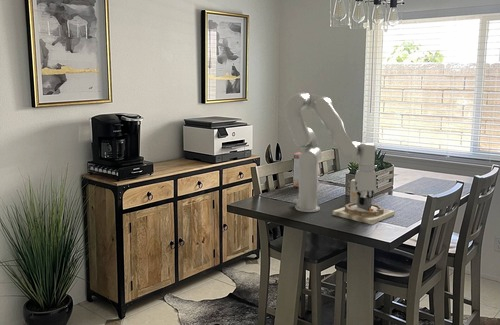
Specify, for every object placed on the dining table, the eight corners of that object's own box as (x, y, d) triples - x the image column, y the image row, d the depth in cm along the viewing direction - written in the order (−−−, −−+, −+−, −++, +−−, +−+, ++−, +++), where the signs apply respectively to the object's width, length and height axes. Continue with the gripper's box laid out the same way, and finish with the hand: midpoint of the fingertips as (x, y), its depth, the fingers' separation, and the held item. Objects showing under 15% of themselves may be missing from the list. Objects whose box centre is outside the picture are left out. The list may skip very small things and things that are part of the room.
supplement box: (367, 204, 275) (368, 180, 272) (363, 206, 271) (365, 182, 268) (352, 201, 279) (354, 178, 277) (349, 203, 275) (350, 179, 273)
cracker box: (316, 189, 307) (317, 154, 303) (309, 190, 303) (311, 156, 299) (299, 184, 317) (300, 151, 313) (292, 186, 313) (293, 152, 309)
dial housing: (332, 214, 254) (333, 206, 254) (356, 206, 270) (356, 198, 269) (371, 224, 240) (372, 215, 239) (394, 214, 255) (395, 206, 254)
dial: (344, 208, 258) (344, 194, 257) (367, 205, 263) (368, 192, 262) (360, 215, 245) (360, 201, 244) (384, 212, 251) (385, 199, 249)
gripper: (378, 166, 256) (375, 201, 259) (347, 167, 252) (346, 203, 256) (385, 169, 248) (382, 205, 252) (354, 170, 245) (352, 207, 248)
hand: (364, 204), depth 254 cm, fingers closed on dial, 2 cm apart
